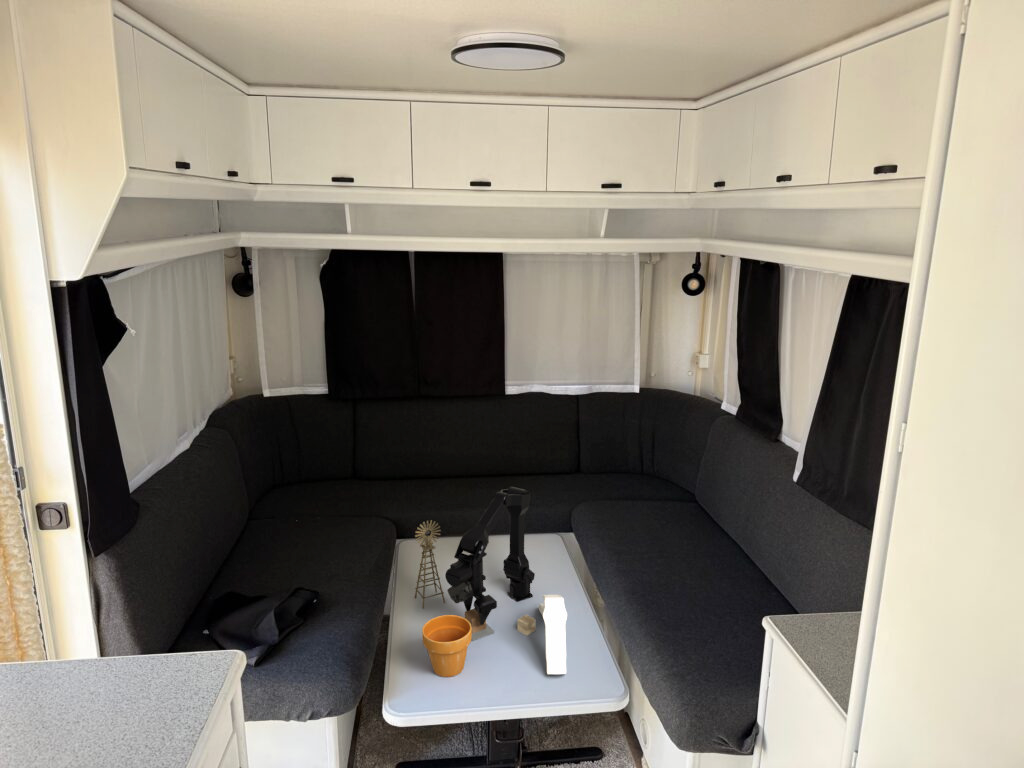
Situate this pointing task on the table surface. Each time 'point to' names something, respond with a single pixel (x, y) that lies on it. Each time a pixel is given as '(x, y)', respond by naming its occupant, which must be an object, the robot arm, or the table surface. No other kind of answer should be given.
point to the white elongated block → (554, 633)
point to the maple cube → (526, 625)
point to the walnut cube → (474, 620)
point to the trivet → (482, 633)
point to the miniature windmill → (426, 546)
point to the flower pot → (447, 643)
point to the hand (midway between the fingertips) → (475, 617)
